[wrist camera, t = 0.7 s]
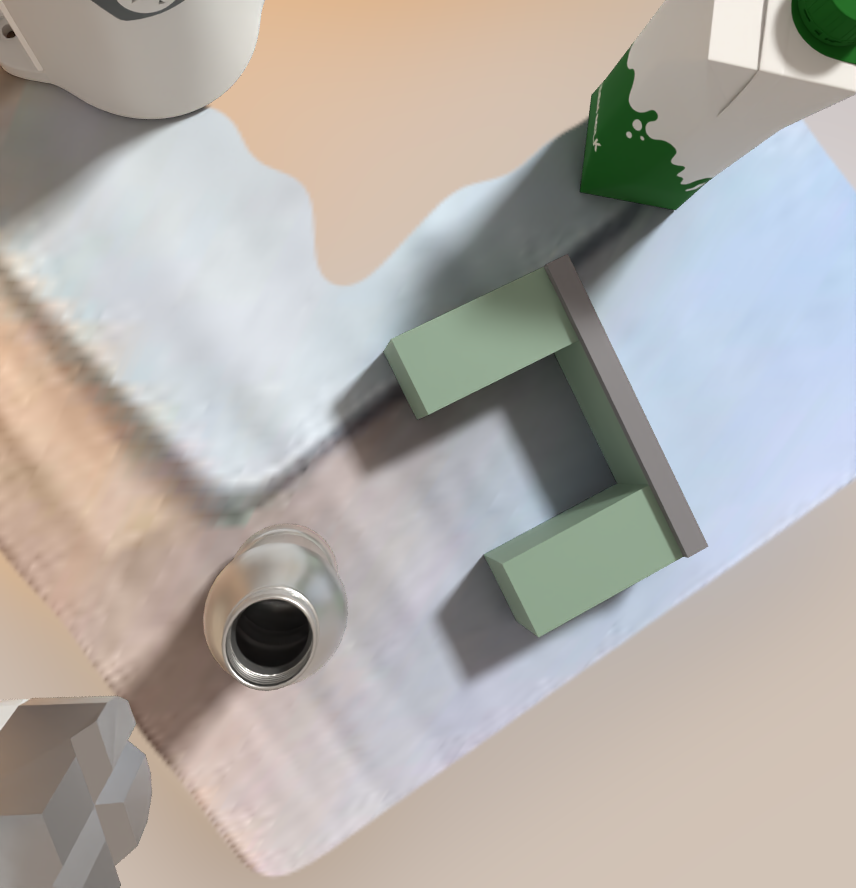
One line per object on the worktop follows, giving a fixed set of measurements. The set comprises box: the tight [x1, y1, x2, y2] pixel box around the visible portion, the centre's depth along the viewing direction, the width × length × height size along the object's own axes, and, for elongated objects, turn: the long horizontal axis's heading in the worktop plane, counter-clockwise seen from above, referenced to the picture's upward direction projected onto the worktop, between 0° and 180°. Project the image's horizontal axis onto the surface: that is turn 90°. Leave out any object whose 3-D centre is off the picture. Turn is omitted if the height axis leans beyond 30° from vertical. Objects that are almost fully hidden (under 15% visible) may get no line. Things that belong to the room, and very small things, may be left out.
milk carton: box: [580, 0, 856, 210], centre depth 44 cm, size 9×9×20 cm
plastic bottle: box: [203, 524, 348, 691], centre depth 39 cm, size 6×7×20 cm
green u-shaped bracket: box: [383, 254, 708, 638], centre depth 49 cm, size 20×12×6 cm, turn 27°
